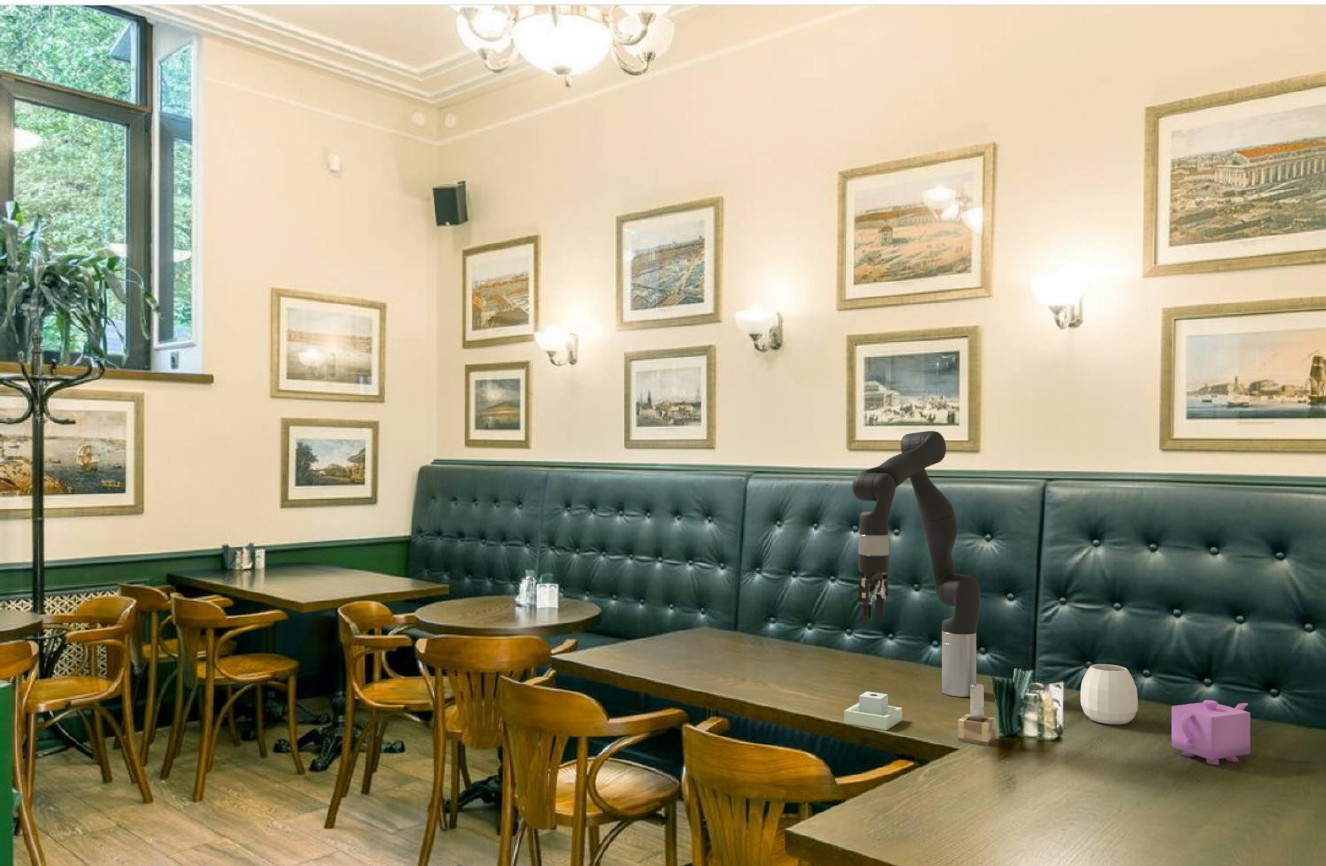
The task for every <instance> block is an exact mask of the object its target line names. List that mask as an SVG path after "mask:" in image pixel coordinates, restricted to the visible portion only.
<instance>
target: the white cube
mask: <svg viewBox="0 0 1326 866" xmlns="http://www.w3.org/2000/svg"><path fill="white" fill-rule="evenodd" d="M858 703H859V712H862V713H869V714H875V715H881V716H885V715H886V714H888V706H889V694H888V693H881V692H873V691H865V692H864V693H862V694H860V695H859V696H858Z"/></svg>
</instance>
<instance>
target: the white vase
mask: <svg viewBox="0 0 1326 866" xmlns="http://www.w3.org/2000/svg"><path fill="white" fill-rule="evenodd" d="M1138 699H1139V698H1138V689H1137V686H1136V682H1135V680H1134V678H1133V676H1132V674H1131V673H1130V671H1129V670H1128V668H1126V667H1125V666H1121V665H1115V664H1105V663H1098V664H1092V665H1090V666H1089V667H1088V668H1087V671H1086V672H1085V674H1084V676H1083V678H1082V680H1081V685H1080V705H1081V708H1082V710H1083V713H1084V715H1086V717H1088V719H1090V720H1092V721H1093V722H1098V723H1102V724H1105V725H1106V724H1107V725H1125V724H1128V723H1129V722H1131V721H1132V720H1133V719H1134V718H1135V716H1136V714H1137V711H1138V708H1139V707H1138V706H1139V705H1138V704H1139V702H1138Z"/></svg>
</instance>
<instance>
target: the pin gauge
mask: <svg viewBox="0 0 1326 866" xmlns="http://www.w3.org/2000/svg"><path fill="white" fill-rule="evenodd" d="M984 690H985V685H984V684H981V683H976V684H970V696H969V697H970V699H969V701H970V703H969V704H970V707H969V708H970V711H969V712H970V713H969V714H970V721H976V722H983V723H984V717H985V716H984V715H985V714H984V712H985V711H984V709H985V705H984V703H985V701H984V700H985V699H984V698H985V697H984V696H985V695H984V692H985V691H984Z"/></svg>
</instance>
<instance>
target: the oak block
mask: <svg viewBox="0 0 1326 866" xmlns="http://www.w3.org/2000/svg"><path fill="white" fill-rule="evenodd" d="M996 720H997V719H996V717H989V716H984V723H983V722H976V721H970V713H967V714H965V715H962V717H960V718H959V719H958V720H957V725H958V726H957V741H958V742H964V743H969V744H975V745H980V744H981V746H987V747H988V746H989V745H991V743H993V742H994V741H995V740H996V739H997V737H996V735H997V733H996V732H997V730H996V726H997V724H996V722H997V721H996Z"/></svg>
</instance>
